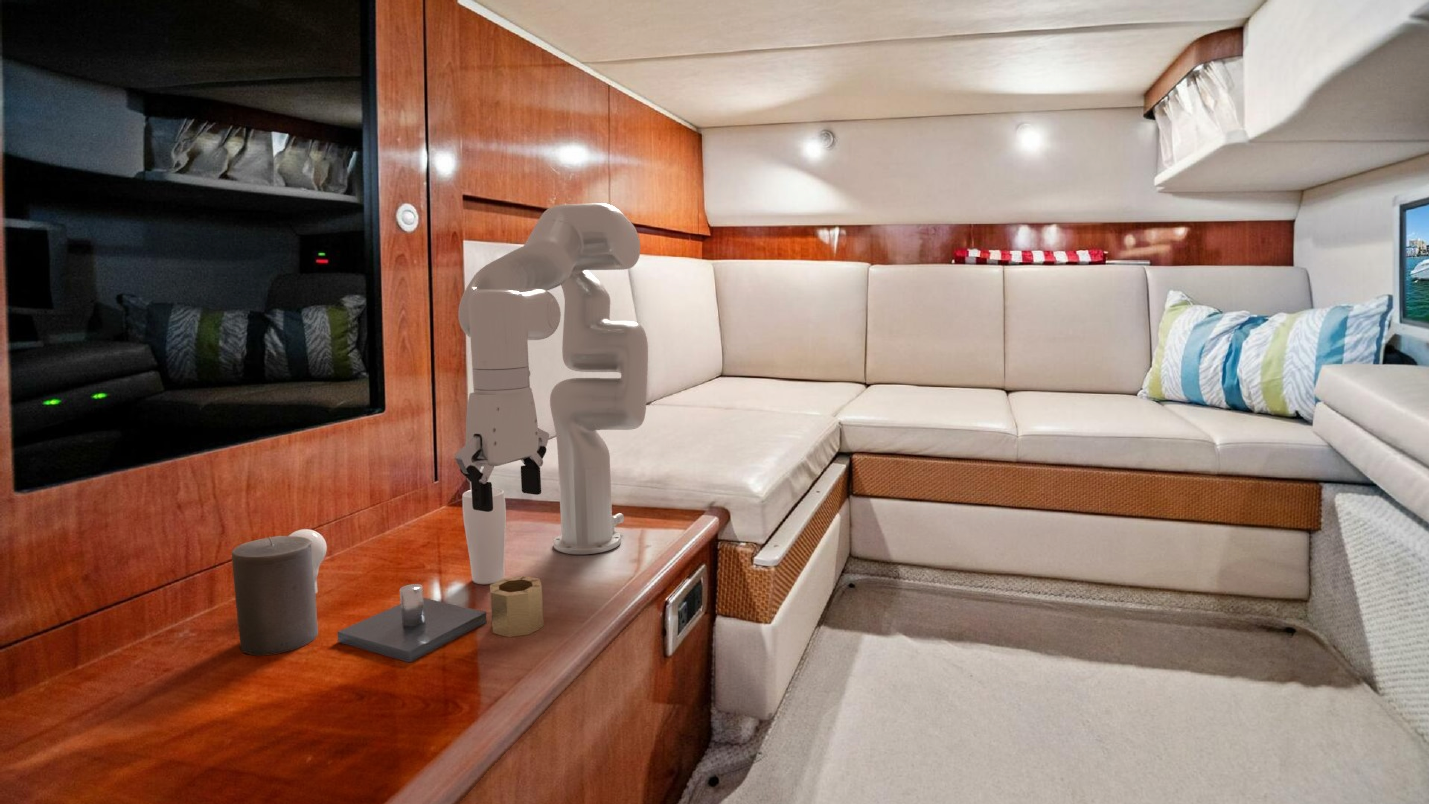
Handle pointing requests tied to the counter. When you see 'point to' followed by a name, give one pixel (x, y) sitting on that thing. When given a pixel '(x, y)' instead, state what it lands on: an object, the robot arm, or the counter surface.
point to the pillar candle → (275, 594)
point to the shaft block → (412, 626)
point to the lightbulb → (314, 549)
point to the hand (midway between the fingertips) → (508, 501)
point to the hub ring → (516, 606)
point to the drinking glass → (486, 538)
